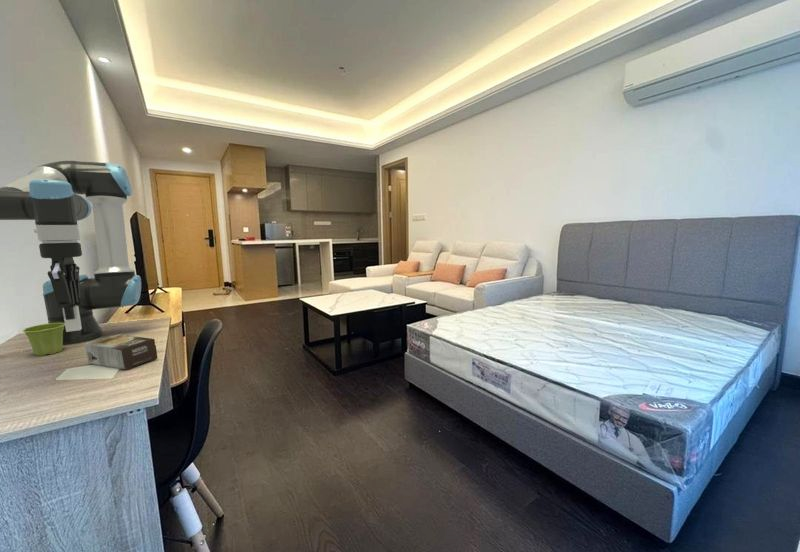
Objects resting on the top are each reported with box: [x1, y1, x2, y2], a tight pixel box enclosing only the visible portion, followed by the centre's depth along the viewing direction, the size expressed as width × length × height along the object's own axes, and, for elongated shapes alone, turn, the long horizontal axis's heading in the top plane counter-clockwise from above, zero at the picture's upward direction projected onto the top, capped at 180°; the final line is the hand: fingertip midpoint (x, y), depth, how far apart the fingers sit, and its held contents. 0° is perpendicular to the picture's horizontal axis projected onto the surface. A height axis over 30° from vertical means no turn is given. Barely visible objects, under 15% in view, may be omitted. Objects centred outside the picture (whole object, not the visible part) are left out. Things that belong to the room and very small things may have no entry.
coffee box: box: [84, 333, 158, 370], centre depth 97 cm, size 9×6×16 cm
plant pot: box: [22, 323, 65, 357], centre depth 105 cm, size 9×9×9 cm
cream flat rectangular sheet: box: [55, 364, 121, 381], centre depth 87 cm, size 18×13×1 cm
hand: (74, 330), depth 87 cm, fingers closed
